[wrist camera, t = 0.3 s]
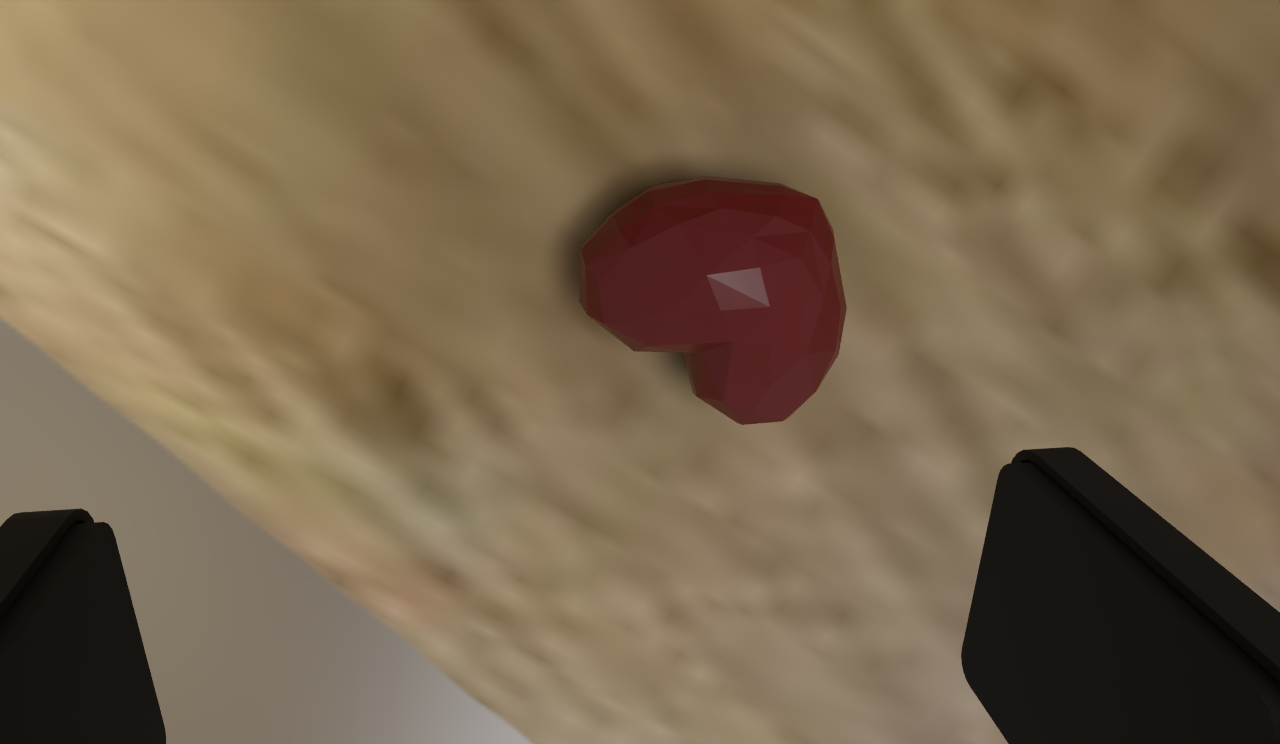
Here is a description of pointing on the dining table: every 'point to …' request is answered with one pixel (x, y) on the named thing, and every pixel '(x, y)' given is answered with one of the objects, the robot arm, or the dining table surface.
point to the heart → (723, 289)
